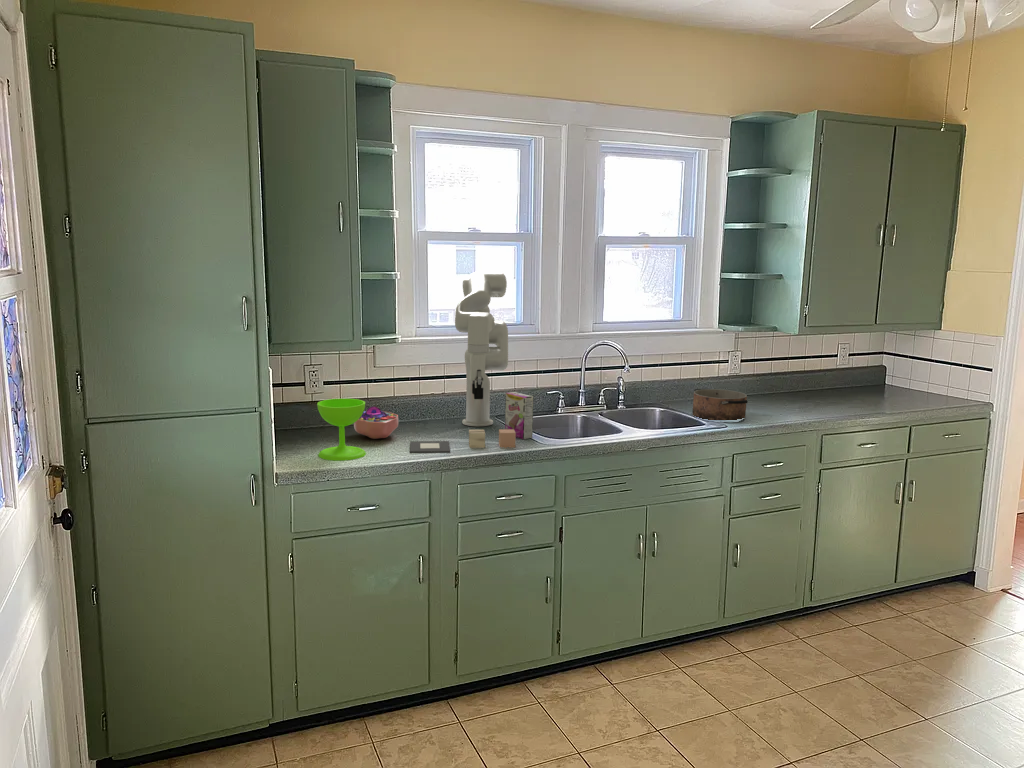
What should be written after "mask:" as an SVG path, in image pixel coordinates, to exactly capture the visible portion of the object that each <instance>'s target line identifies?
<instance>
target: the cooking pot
mask: <svg viewBox="0 0 1024 768" xmlns="http://www.w3.org/2000/svg"><path fill="white" fill-rule="evenodd" d="M747 398H748V395H747V394H746V393H745V392H741V391H736V390H731V389H730V390H729V389H722V388H721V389H719V388H717V389H715V388H696V389H694V391H693V402H692V416H693V415H694V416H696V417H699V418H702V419H708V420H737V419H742V418H745V419H746V416H747V415H746V413H747V411H746V410H747V404H748V399H747ZM694 416H693V417H694Z"/></svg>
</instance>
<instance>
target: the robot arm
mask: <svg viewBox="0 0 1024 768" xmlns="http://www.w3.org/2000/svg"><path fill="white" fill-rule="evenodd" d="M507 284H508V283H507V277H506V275H505V274H504V272H503V271H498V270H497V271H496V270H494V271H492V270H490V271H489V270H477V271H475V272H472V273H471V274H470V276H466V277H464V279H463V280H462V291H463V296H464V297H463V298H462V299H461V300H460V301H459V302H458V304H457V306H456V308H455V313H454V315H455V316H454V326H455V329H456V330H457V332H459V333H467V349H466V350H465V351H464V363H465V372H466V375H465V376H466V393H465V394H466V398H465V399H466V400H465V401H466V403H465V404H466V405H465V406H466V407H465V413H466V414H465V418H464V419H462V422H461V423H462V424H463V425H465V426H468V427H476V428H477V427H487V426H492V425H493V424H494V420H493V419H491V418H490V407H491V406H490V405H491V402H490V401H491V400H490V399H491V398H490V397H491V392H490V391H491V381H490V378H489V376H488V375H487V374H486V371H504V370H506V369H507V368H508V365H509V364H508V363H509V329H508V325H507V323H506V322H505V321H503V320H495V317H494V315H493V314H492V313H491V309H490V307H489V304H490V303H491V298H503V297H504V296H505V295H506V292H507V288H508V287H507V286H508V285H507ZM490 345H496V346H490Z"/></svg>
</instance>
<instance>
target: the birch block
mask: <svg viewBox="0 0 1024 768" xmlns="http://www.w3.org/2000/svg"><path fill="white" fill-rule="evenodd" d="M468 446H469V448H470V449H480V448H481V449H483V448H484V449H485V448H486V431H485V429H468Z"/></svg>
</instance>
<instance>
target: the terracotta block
mask: <svg viewBox="0 0 1024 768" xmlns="http://www.w3.org/2000/svg"><path fill="white" fill-rule="evenodd" d="M516 438H517V437H516V433H515V431H514V429H505V428H503V429H500V428H499V429H498V445H499V447H501V448H500V449H502V448H503V447H504V449H505V448H507V447H509V448H516Z"/></svg>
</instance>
